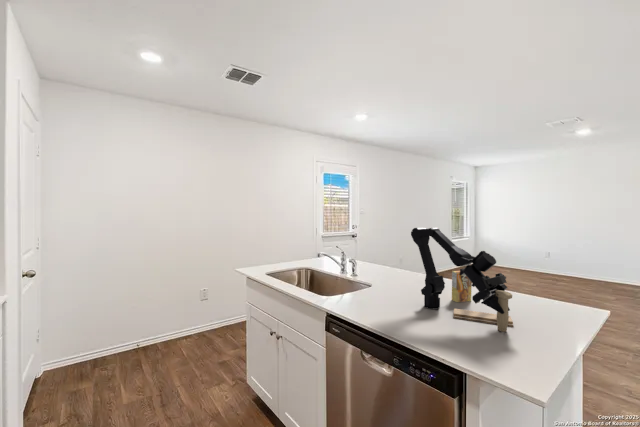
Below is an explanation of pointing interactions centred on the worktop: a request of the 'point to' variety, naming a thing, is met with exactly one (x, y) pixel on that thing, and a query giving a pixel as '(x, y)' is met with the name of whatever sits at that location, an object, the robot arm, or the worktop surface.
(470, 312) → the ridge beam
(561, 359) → the worktop surface
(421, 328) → the worktop surface
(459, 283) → the candy box
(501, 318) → the handle
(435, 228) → the robot arm
